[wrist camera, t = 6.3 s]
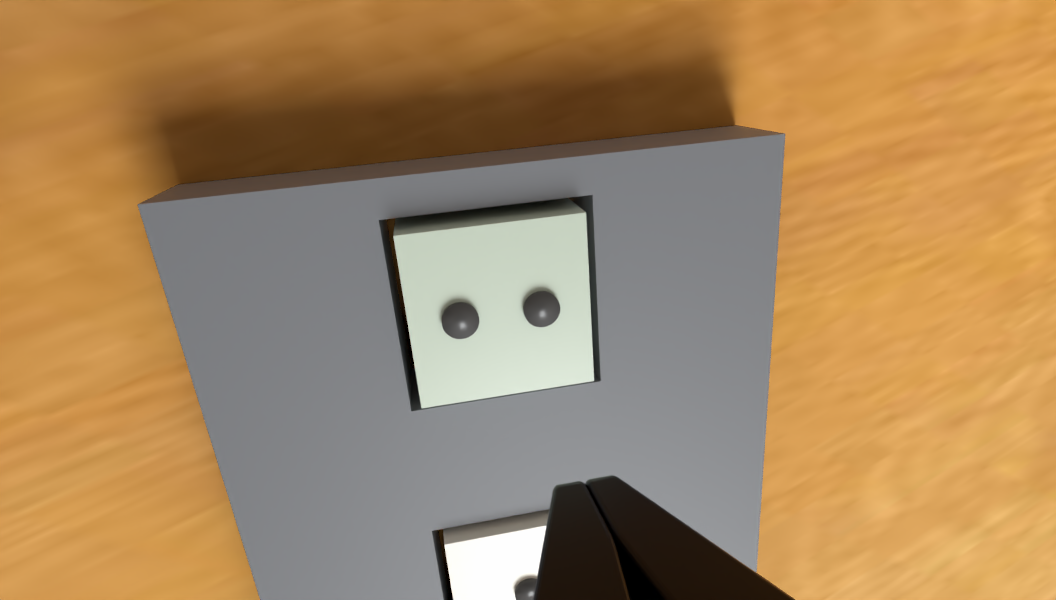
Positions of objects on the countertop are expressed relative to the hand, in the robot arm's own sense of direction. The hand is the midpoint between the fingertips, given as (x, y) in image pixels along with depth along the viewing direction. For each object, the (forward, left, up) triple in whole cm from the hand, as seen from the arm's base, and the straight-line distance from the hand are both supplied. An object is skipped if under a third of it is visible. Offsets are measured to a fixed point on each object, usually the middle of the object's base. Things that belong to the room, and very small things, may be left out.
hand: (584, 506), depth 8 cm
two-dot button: (0, 0, -10) cm, 10 cm away
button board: (0, -9, -10) cm, 14 cm away
